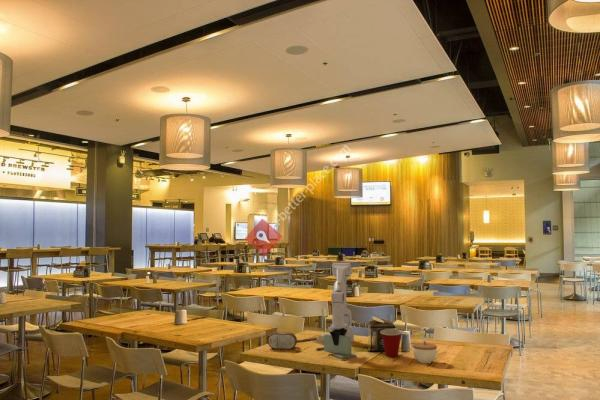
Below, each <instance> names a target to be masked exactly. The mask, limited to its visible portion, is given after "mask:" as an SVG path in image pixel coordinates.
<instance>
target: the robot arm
mask: <svg viewBox="0 0 600 400" xmlns="http://www.w3.org/2000/svg"><path fill="white" fill-rule="evenodd" d="M331 268H332V269H331V271H332V275H333V277H334V278H336V281H334V283H333V288H332V289H333V290H332V292H331V295H330V296H331V307H332V318H331V319H332V321H331V323H332V324H330V326H328V327H327V332H329V334H331V336H332V339H333V343H334V345H336V346H338V343H339V336H340V335H342V336H349V337H351V343H352V342H355V333H354V332H355V330H354V328H353V326H352V323H353V321H352V319H353V318H352V310H350V309H349V308H348V307H347V280H348V278H351V275H352V263H351V262H332V265H331Z"/></svg>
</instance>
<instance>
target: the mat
mask: <svg viewBox="0 0 600 400" xmlns="http://www.w3.org/2000/svg"><path fill="white" fill-rule="evenodd" d="M328 356H330V357H331V356H332V357H334V358H337V359H340V360H344V359H351V358H357V354H354V353H352V354H349V355H345V354H339V353H329V354H328Z"/></svg>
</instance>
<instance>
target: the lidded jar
mask: <svg viewBox="0 0 600 400" xmlns="http://www.w3.org/2000/svg"><path fill="white" fill-rule="evenodd" d="M412 347H413V348H412V350H413V356H414V358H415V360H416V361H417V362H418V363H419V362H420V364H424V363H429V364H432V363H433V362H434V360H436V356H437V351H438V350H437V349H438V346H437V344H434V343H431V342H427V341H426V340H424V341H423V342H415V343H413V344H412ZM431 362H432V363H431Z"/></svg>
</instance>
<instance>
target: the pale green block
mask: <svg viewBox="0 0 600 400" xmlns="http://www.w3.org/2000/svg"><path fill="white" fill-rule="evenodd" d="M323 334H324V345H323V347H324V350H323V351H324V352H329V353H333V354H335V353H339V354H345V355H349V354H353V353H352V342H351V337H349V336H342V335H340V336H339V343H338V346H336V345H334V343H333V339H332V336H331V334H330V333H323Z"/></svg>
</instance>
